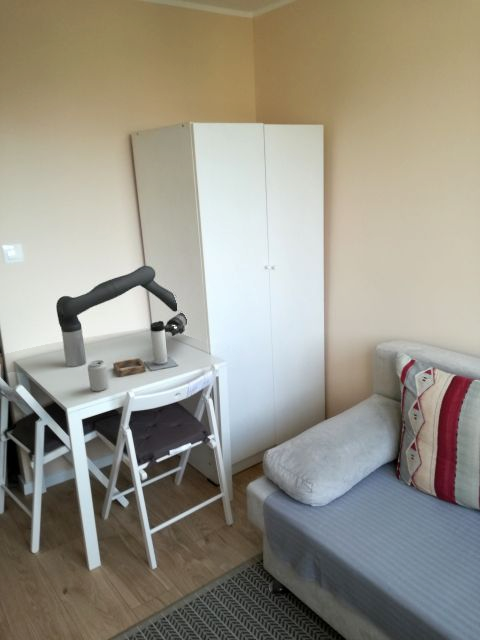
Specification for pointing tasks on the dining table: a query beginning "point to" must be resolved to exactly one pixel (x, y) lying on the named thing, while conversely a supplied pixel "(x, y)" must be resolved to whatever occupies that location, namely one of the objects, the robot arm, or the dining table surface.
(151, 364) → the rubber mat
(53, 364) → the dining table surface
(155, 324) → the travel mug
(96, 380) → the can
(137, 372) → the frame
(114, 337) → the dining table surface
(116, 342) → the dining table surface
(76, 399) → the dining table surface
